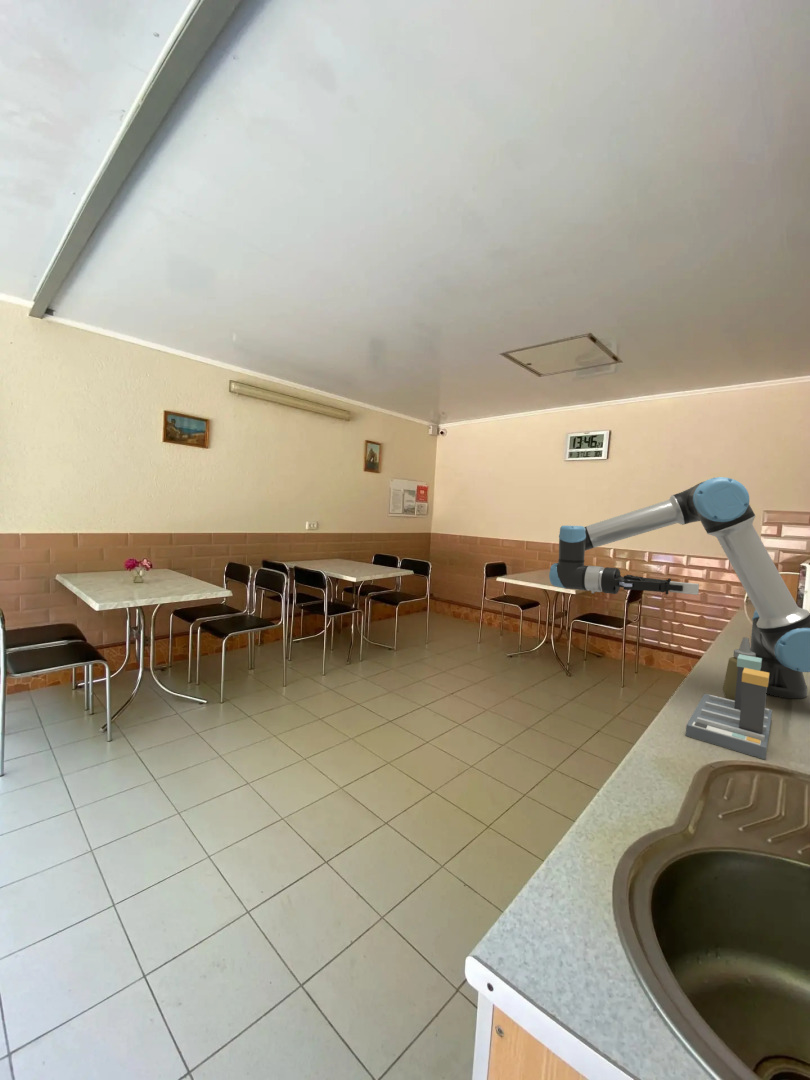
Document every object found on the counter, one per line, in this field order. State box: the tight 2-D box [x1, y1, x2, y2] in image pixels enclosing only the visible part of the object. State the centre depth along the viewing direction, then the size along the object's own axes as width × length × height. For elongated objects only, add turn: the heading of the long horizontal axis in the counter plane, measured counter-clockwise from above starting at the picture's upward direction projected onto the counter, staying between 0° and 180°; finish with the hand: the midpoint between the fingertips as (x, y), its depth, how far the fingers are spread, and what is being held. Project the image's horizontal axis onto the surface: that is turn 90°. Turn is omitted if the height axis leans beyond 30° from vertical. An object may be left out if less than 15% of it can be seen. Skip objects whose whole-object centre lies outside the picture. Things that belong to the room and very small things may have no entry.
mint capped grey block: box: [734, 654, 762, 710], centre depth 109 cm, size 4×4×13 cm
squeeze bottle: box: [722, 637, 756, 701], centre depth 119 cm, size 8×8×18 cm
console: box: [685, 693, 773, 761], centre depth 107 cm, size 25×14×4 cm, turn 139°
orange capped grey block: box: [739, 668, 769, 735], centre depth 99 cm, size 4×4×13 cm
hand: (698, 589), depth 119 cm, fingers closed
